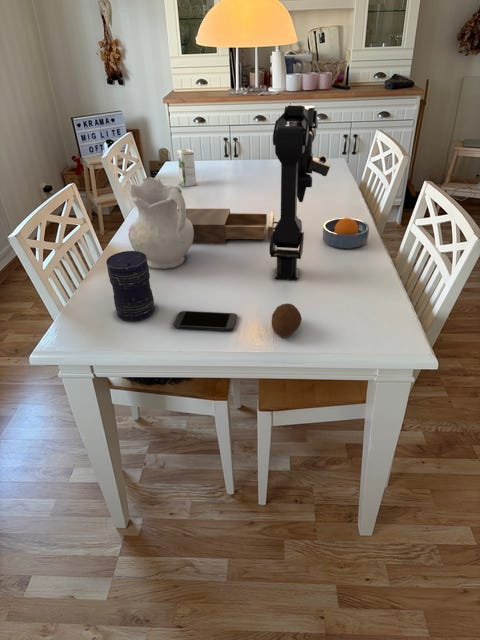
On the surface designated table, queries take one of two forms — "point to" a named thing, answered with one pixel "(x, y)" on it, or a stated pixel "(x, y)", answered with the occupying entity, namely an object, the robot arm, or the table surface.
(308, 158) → the robot arm
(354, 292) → the table surface
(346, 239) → the bowl
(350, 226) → the orange
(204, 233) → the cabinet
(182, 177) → the syrup box
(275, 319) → the potato
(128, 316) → the storage jar
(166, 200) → the ceramic pitcher
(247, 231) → the drawer
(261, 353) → the table surface
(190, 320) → the smartphone
